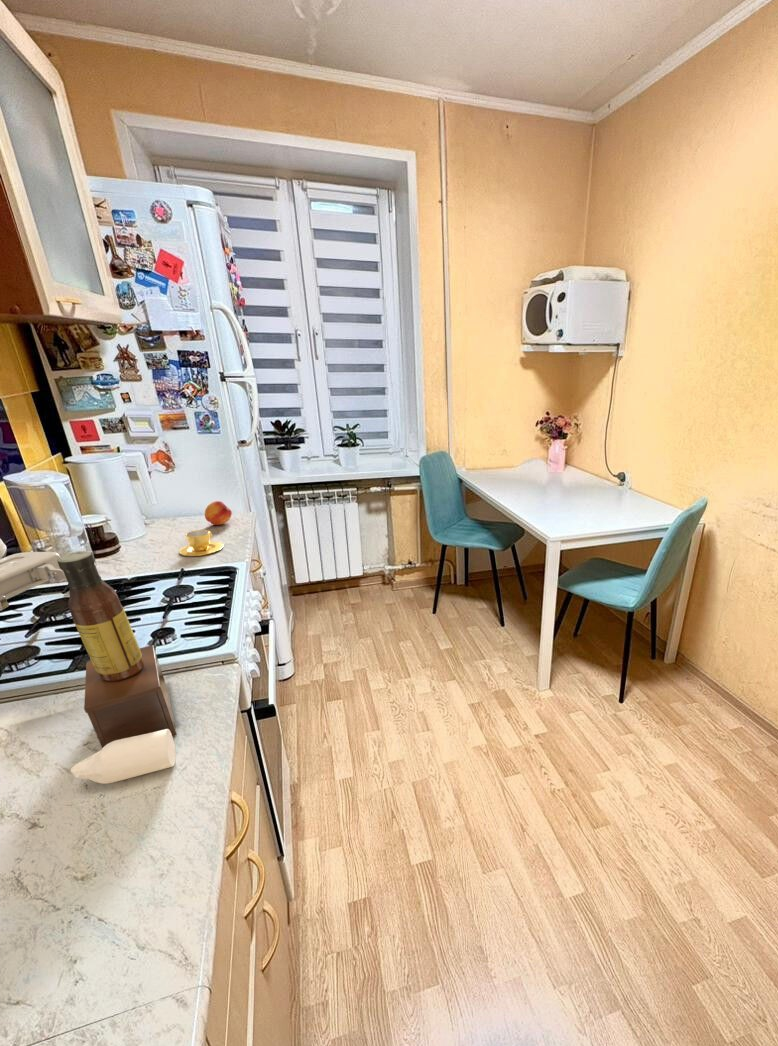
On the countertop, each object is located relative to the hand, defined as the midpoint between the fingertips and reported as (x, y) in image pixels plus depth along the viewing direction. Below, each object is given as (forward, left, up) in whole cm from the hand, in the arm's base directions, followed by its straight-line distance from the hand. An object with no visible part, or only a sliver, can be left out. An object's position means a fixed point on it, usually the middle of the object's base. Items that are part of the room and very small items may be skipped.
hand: (34, 589), depth 75 cm
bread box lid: (+7, -6, -15) cm, 18 cm away
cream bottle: (+5, -18, -24) cm, 31 cm away
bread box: (+7, -6, -24) cm, 26 cm away
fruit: (+36, +100, -24) cm, 109 cm away
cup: (+27, +76, -24) cm, 84 cm away
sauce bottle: (+7, -6, -14) cm, 17 cm away
